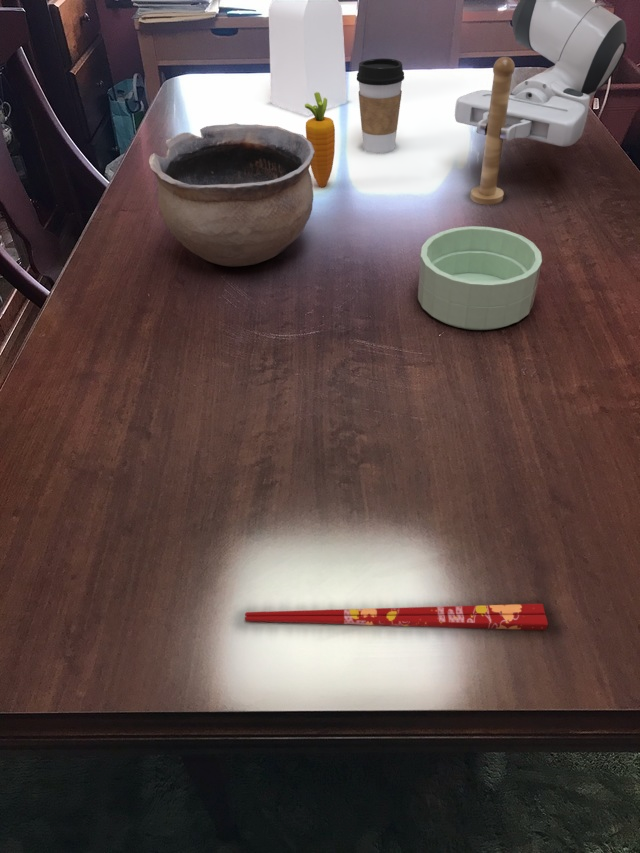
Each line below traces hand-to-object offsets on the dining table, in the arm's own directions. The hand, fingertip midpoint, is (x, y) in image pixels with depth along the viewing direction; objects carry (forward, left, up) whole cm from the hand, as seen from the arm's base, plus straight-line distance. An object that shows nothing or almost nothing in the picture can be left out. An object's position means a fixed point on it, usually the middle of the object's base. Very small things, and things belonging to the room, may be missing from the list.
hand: (492, 131), depth 104 cm
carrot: (+20, -18, -11) cm, 29 cm away
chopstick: (+53, +59, -11) cm, 80 cm away
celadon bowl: (+19, +24, -11) cm, 32 cm away
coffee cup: (+3, -28, -11) cm, 31 cm away
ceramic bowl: (+40, -4, -11) cm, 42 cm away
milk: (+3, -58, -11) cm, 59 cm away
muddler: (-1, 0, -11) cm, 11 cm away
